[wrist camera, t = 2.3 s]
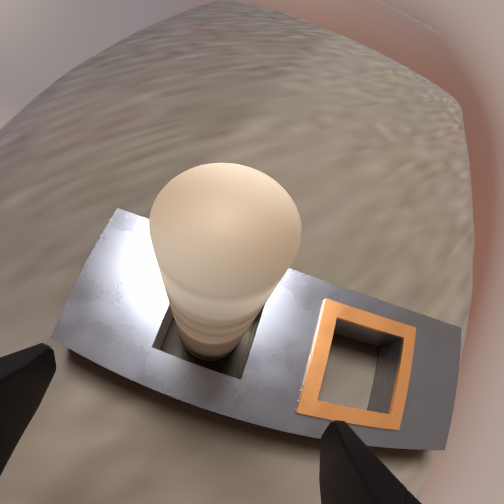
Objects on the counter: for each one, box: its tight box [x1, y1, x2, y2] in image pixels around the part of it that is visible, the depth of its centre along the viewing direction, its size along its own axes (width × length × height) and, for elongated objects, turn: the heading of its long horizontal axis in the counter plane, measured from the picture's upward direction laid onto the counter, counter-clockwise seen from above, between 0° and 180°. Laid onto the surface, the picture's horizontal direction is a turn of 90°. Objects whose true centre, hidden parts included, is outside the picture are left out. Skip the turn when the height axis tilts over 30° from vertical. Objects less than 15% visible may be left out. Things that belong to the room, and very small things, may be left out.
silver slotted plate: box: [51, 208, 461, 450], centre depth 19 cm, size 28×10×3 cm, turn 73°
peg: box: [149, 163, 302, 361], centre depth 14 cm, size 4×4×14 cm
